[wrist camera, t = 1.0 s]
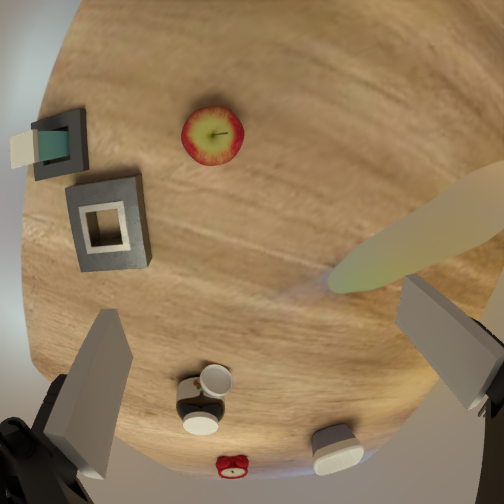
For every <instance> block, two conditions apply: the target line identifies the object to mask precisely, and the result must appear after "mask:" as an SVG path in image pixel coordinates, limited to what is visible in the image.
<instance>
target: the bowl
mask: <svg viewBox="0 0 504 504" xmlns="http://www.w3.org/2000/svg"><path fill="white" fill-rule="evenodd" d="M312 450H313V468H314V471H315V473H316V474H318V475H326V474H331V473H334V472H338V471H341V470H343V469H346V468H349V467H351V466H353V465H355V464H357V463H358V462H359V461H360V460H361V458H362V456H363V453H364V446H363V445H362V444H361V443H360V441H359V440H358V439H357V438H356V437H355V436H354V434H353V433H352V432H351V431H350V430H349V428H348V427H347V426H346V425H345V424H340V425H336V426H332V427H328V428H326V429H323V430H321V431H318V432H316V433H315V434H314V435H313V438H312Z"/></svg>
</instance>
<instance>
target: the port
mask: <svg viewBox="0 0 504 504" xmlns="http://www.w3.org/2000/svg"><path fill="white" fill-rule="evenodd" d="M65 193H66V200H67V206H68V212H69V218H70V224H71V229H72V234H73V239H74V244H75V248H76V253H77V257H78V261H79V265H80V269H81V272H93V271H108V270H123V269H137V268H148V266H149V264H150V261H151V259H152V254H151V248H150V241H149V234H148V227H147V219H146V211H145V203H144V194H143V184H142V174H139V175H131V176H123V177H116V178H110V179H103V180H97V181H91V182H85V183H79V184H74V185H72V186H69V187H67V188H65ZM109 209H118V216H119V222H120V229H121V235H122V237H111V238H101V239H100V233H99V228H98V222H97V216H96V211H101V210H109Z"/></svg>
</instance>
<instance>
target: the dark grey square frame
mask: <svg viewBox="0 0 504 504" xmlns="http://www.w3.org/2000/svg"><path fill="white" fill-rule="evenodd" d="M67 127H69V146H70V159H71V160H67V161H62V162H58V163H54V164H50V160H46V161H40V162H36V163H33V166H34V175H35V181H39V180H43V179H47V178H52V177H57V176H61V175H66V174H71V173H76V172H81V171H86V170H89V159H88V147H87V129H86V110H84V109H77V110H73V111H69V112H66V113H62V114H59V115H55V116H52V117H49V118H46V119H42V120H39V121H36V122H34V123H31V130H33V129H37V131H56V130H59V129H63V128H67Z"/></svg>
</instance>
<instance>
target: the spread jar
mask: <svg viewBox="0 0 504 504" xmlns="http://www.w3.org/2000/svg"><path fill="white" fill-rule="evenodd" d="M232 387H233V378H232V375H231V374H230V372H229V371H228V370H227V369H226V368H224V367H223V366H221V365H217V364H212V365H209V366H207V367H206V368H205V369H204V370H203V371H202V372H201V374H200V375H194V376H190V377H188V378H186V379H184V380H182V381H181V382H180V384H179V385H178V388H177V395H176V409H177V413H178V415H179V417H180V418H181V420H182V421H183V427H184V429H185V430H186V431H188V432H189V433H192V434H195V435H209V434H212V433H214V432H215V431H216V430H217V429H218V422H220V421H221V419H222V418H223V416H224V413H225V400H224V395H225V394H227V393H228V392H229V391H230V390H231V389H232Z"/></svg>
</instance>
